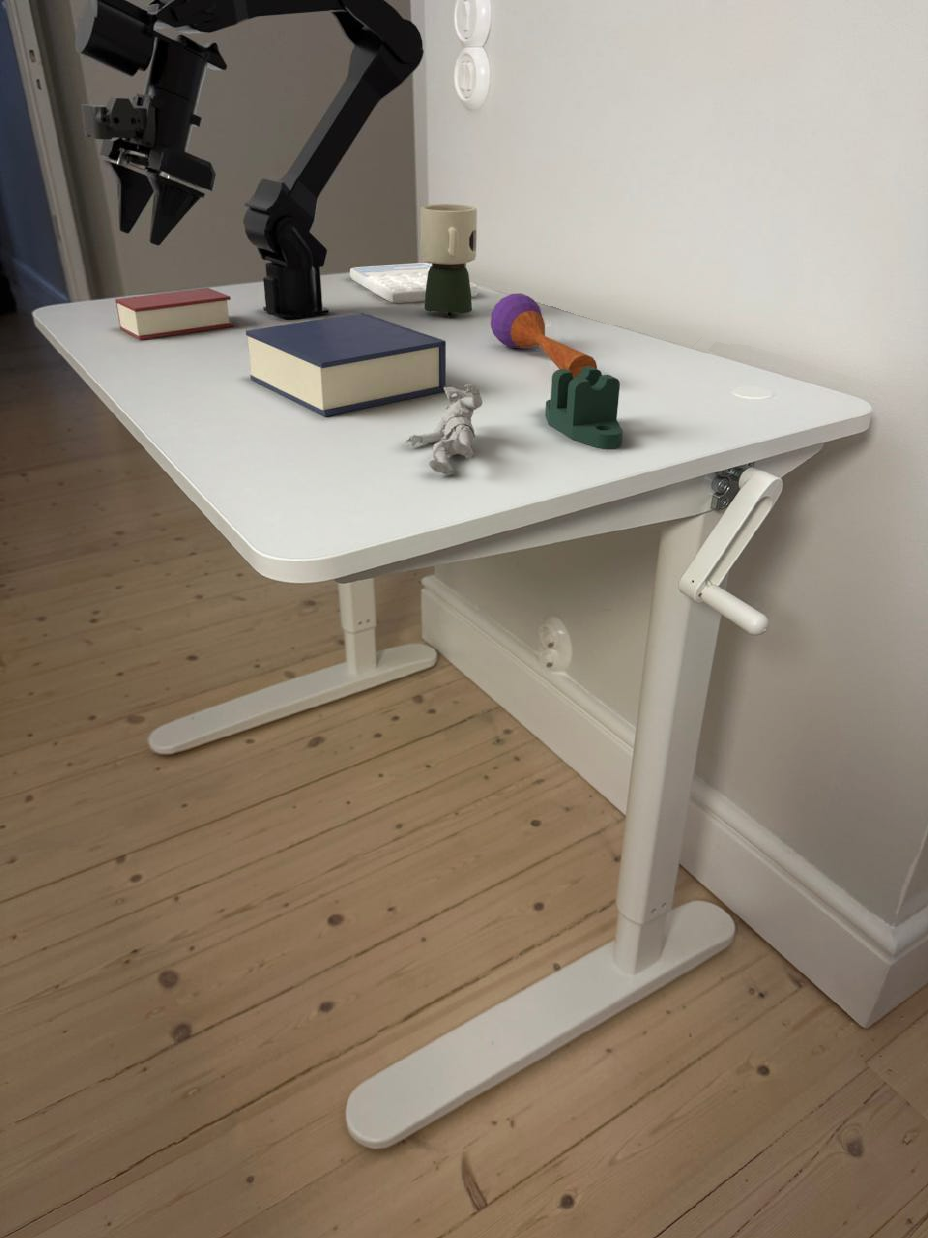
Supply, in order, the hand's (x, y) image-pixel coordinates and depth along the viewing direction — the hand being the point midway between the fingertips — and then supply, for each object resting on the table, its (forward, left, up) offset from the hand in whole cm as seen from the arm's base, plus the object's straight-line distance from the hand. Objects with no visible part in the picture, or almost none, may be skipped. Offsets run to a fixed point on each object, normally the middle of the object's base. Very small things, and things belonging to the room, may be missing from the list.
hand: (138, 237), depth 110 cm
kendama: (-29, +38, -11) cm, 49 cm away
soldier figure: (-4, +55, -11) cm, 56 cm away
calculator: (-41, -4, -11) cm, 43 cm away
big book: (-7, +33, -11) cm, 35 cm away
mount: (-17, +57, -11) cm, 60 cm away
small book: (-3, 0, -11) cm, 11 cm away
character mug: (-35, +13, -11) cm, 39 cm away
